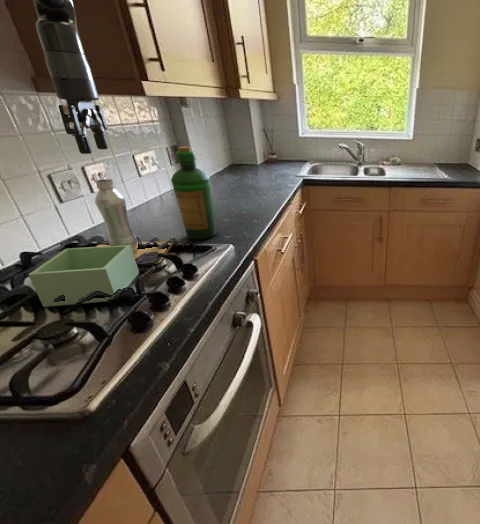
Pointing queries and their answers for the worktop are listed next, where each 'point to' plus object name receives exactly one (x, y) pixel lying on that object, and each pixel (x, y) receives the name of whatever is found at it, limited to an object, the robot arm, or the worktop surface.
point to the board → (149, 250)
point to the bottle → (194, 196)
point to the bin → (84, 274)
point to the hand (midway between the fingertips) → (95, 151)
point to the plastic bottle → (114, 215)
